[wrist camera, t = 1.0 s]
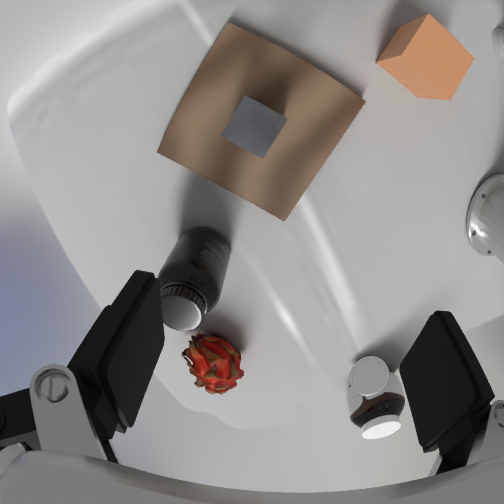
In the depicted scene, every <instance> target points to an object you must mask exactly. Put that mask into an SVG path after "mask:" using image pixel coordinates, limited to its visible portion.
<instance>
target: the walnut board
mask: <svg viewBox="0 0 504 504" xmlns="http://www.w3.org/2000/svg"><path fill="white" fill-rule="evenodd" d="M244 95H247V96H251V97H253V98H255V99H256V100H258V101H260V102H262V103H264V104H265V105H267V106H269V107H271V108H273V109H274V110H276V111H278V112H280V113H281V114H283V115H284V116H285V117H286V118H287V119H288V120H287V122H286V123H285V125H284V126H283V128H282V129H281V131H280V133H279V134H278V136H277V137H276V139H275V140H274V142H273V144H272V145H271V147H270V148H269V150H268V152H267V153H266V155H265V157H264V158H263V159H261V158H260V157H258V156H256V155H254V154H253V153H251V152H249V151H247V150H245V149H244V148H242V147H240V146H238V145H236V144H234V143H233V142H231V141H229V140H227V139H225V138H223V137H221V135H222V133H223V131H224V129H225V127H226V126H227V124H228V122H229V121H230V119H231V117H232V115H233V114H234V112H235V110H236V109H237V107H238V105H239V104H240V102H241V100H242V99H243V97H244ZM365 102H366V101H364V100H363V99H362V98H360V97H359V96H358V95H356V94H355V93H353V92H352V91H351V90H349V89H348V88H346V87H345V86H343V85H342V84H341V83H339V82H338V81H336V80H335V79H333V78H332V77H330V76H329V75H327V74H325V73H324V72H322V71H321V70H319V69H317V68H316V67H314V66H313V65H311V64H309V63H308V62H306V61H304V60H302V59H301V58H299V57H297V56H296V55H294V54H292V53H290V52H288V51H287V50H285V49H283V48H281V47H279V46H277V45H275V44H273V43H271V42H269V41H267V40H265V39H263V38H261V37H259V36H257V35H255V34H253V33H251V32H249V31H247V30H244V29H242V28H240V27H238V26H235V25H233V24H231V23H228V24H227V25H226V27H225V28H224V30H223V31H222V33H221V34H220V36H219V37H218V39H217V40H216V42H215V44H214V45H213V47H212V48H211V50H210V52H209V53H208V55H207V57H206V58H205V60H204V62H203V63H202V65H201V67H200V68H199V70H198V72H197V74H196V75H195V77H194V79H193V81H192V82H191V84H190V86H189V88H188V90H187V92H186V93H185V95H184V97H183V99H182V101H181V103H180V105H179V107H178V109H177V111H176V113H175V115H174V117H173V119H172V121H171V123H170V125H169V127H168V129H167V131H166V133H165V135H164V137H163V139H162V142H161V144H160V146H159V148H158V150H157V153H159V154H161V155H163V156H165V157H167V158H169V159H171V160H173V161H175V162H177V163H178V164H180V165H182V166H184V167H186V168H188V169H190V170H192V171H194V172H196V173H197V174H199V175H201V176H203V177H205V178H207V179H209V180H211V181H212V182H214V183H216V184H218V185H220V186H222V187H224V188H225V189H227V190H229V191H231V192H233V193H235V194H236V195H238V196H240V197H242V198H244V199H245V200H247V201H249V202H251V203H253V204H254V205H256V206H258V207H260V208H261V209H263V210H265V211H267V212H268V213H270V214H272V215H274V216H275V217H277V218H279V219H281V220H282V221H285V220H286V218H287V217H288V215H289V214H290V212H291V211H292V209H293V208H294V206H295V205H296V204H297V202H298V201H299V199H300V198H301V196H302V195H303V193H304V192H305V190H306V189H307V188H308V186H309V185H310V183H311V182H312V180H313V179H314V177H315V176H316V174H317V173H318V171H319V170H320V169H321V167H322V166H323V164H324V163H325V161H326V160H327V158H328V157H329V155H330V154H331V152H332V151H333V149H334V148H335V146H336V145H337V144H338V142H339V141H340V139H341V138H342V136H343V135H344V133H345V132H346V130H347V129H348V127H349V126H350V124H351V123H352V121H353V120H354V118H355V117H356V115H357V114H358V112H359V111H360V110H361V108H362V107H363V105H364V104H365Z"/></svg>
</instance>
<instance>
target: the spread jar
mask: <svg viewBox="0 0 504 504" xmlns="http://www.w3.org/2000/svg"><path fill="white" fill-rule="evenodd" d="M349 382H350V386H349V388H348V391H347V406H348V412H349V416H350V419H351V421H352V422H353V423H354V424H355V425H356V426H358V427H360V428H362V436H363V437H364V438H366V439H377V438H382V437H385V436H387V435H390V434H392V433H394V432H395V431H397V430H398V429H399V428H400V426H401V422H400V418H399V416H400V414H401V412H402V410H403V408H404V405H405V398H404V394H403V390H402V387H401V383H400V381H399V379H398V377H397V376H396V375H395V374H394V373H393V372H391V371H389V369H388V367H387V365H386V363H385V362H384V361H383V360H382V359H380V358H378V357H376V356H367V357H364V358H361V359H360V360H358V361H357V362H356V363H355V364H354V365H353V367H352V369H351V371H350V375H349Z"/></svg>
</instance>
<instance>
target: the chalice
mask: <svg viewBox="0 0 504 504" xmlns="http://www.w3.org/2000/svg"><path fill="white" fill-rule="evenodd" d="M492 39H493V44H494V46H495V49H496V51H497V52H498V54H499V55H500V57H501V58H502V59H504V30H503V29H500V28H496V29H495V30H494V31H493V35H492Z"/></svg>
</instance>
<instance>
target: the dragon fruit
mask: <svg viewBox="0 0 504 504" xmlns="http://www.w3.org/2000/svg"><path fill="white" fill-rule="evenodd" d="M210 332H211V331H210ZM211 333H212V335H213V336H212V337H207V336H205V335H202V334H201V333H198V334H197V335H195V336H193V335H192V336H191V337H192V341H189V342H190V345H189V348H187V349H185V350H184V351H183V352H182V354H181V355H182V356H183V357H184V356H187V357H188V358H189V359H190V360H191V361H192V362H193V365H191V363H190V361H189V360H188V359H187V358H186V357H184V358H185V360H186V361H187V365H188V366H189V367H190V369H189V370H190V373H191V374H193V375H194V376H196V377H197V381H196V382H195V383H194V384H195V385H196V386H197V387H203V386H205V390H206V391H207V392H208V393H211V394H215V393H219V394H223V393H225V392H226V391H228V390H229V389H232V388H234V387H236V386H237V383H236V382H235V381H236V380H237V379H241V378H242V376H244V371H243V370H241V369H240V362H241V354H240V351H239V350H238V349H233V348H232V347H231V346H230V345H229V344H228V342H227V341H226V340H225V339H224V337H223V336H221V335H219V334H217V333H214V332H211Z"/></svg>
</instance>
